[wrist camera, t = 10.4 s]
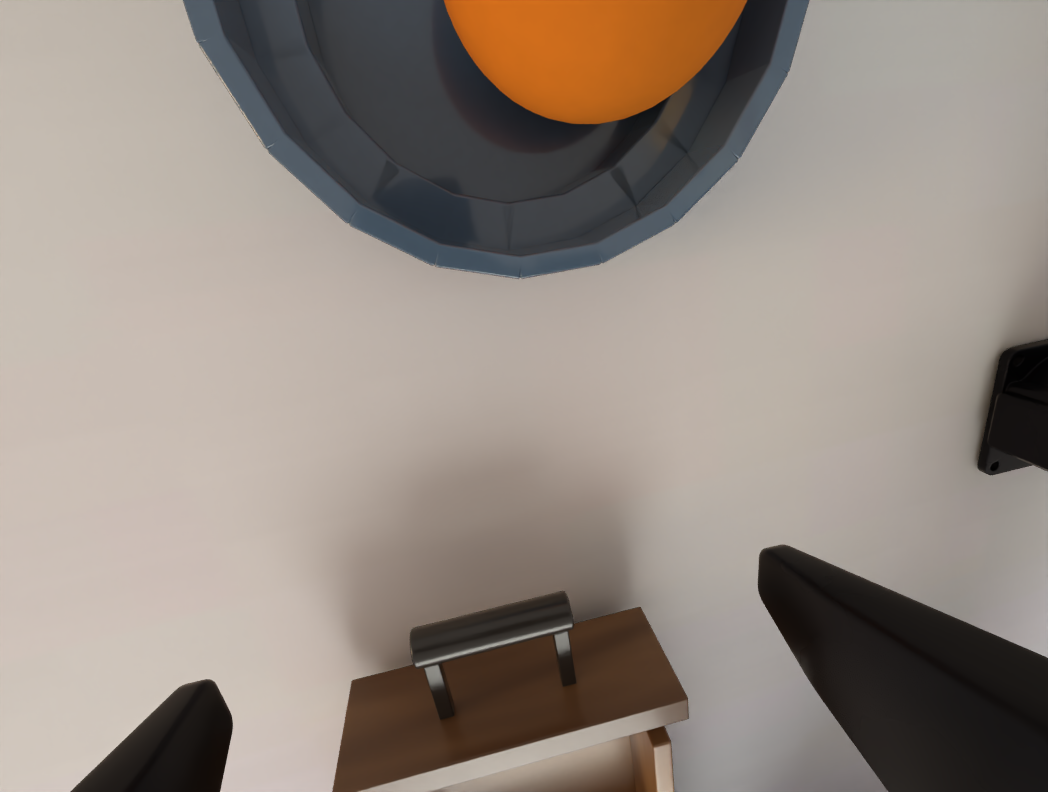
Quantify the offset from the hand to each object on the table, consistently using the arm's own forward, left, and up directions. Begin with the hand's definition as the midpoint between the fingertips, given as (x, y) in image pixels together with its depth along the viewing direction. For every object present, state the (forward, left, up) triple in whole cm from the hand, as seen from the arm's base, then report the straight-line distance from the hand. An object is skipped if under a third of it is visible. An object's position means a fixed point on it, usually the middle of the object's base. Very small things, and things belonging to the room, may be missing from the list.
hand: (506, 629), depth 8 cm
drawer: (+1, +19, -11) cm, 22 cm away
